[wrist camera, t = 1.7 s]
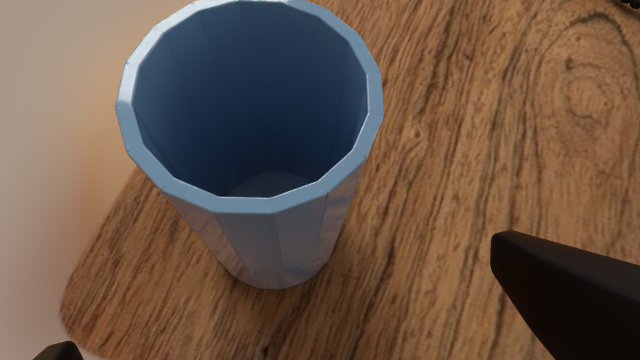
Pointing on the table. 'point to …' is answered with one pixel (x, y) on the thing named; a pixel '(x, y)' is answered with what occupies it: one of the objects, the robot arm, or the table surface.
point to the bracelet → (632, 3)
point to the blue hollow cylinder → (254, 129)
